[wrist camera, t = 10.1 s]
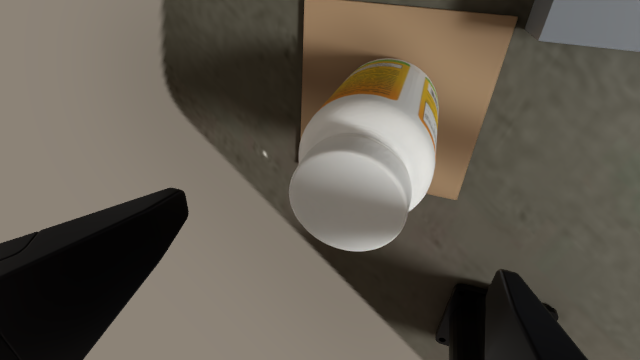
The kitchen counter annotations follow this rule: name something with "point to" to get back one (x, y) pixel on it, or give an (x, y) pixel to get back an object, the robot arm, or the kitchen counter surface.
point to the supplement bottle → (367, 156)
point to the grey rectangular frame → (587, 23)
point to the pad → (418, 49)
